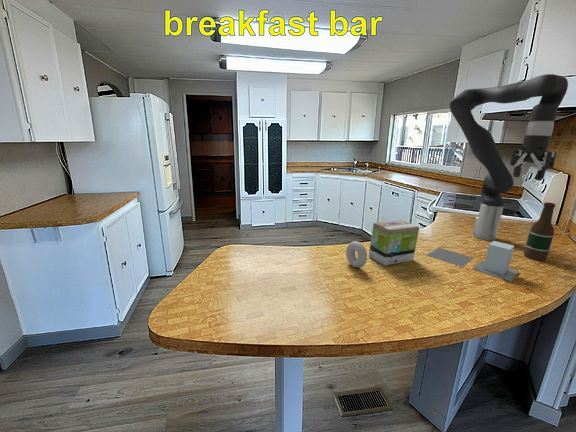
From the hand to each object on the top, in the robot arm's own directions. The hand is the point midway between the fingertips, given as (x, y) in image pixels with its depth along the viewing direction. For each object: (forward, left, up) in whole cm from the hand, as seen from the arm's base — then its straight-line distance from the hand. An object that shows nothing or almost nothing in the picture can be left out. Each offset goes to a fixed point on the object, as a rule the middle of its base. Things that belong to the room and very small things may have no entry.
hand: (527, 178), depth 109 cm
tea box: (-8, -48, -34) cm, 59 cm away
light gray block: (+8, -14, -33) cm, 37 cm away
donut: (-3, -66, -34) cm, 74 cm away
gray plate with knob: (+8, -14, -34) cm, 38 cm away
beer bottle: (-1, +16, -34) cm, 38 cm away
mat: (-6, -22, -34) cm, 41 cm away
